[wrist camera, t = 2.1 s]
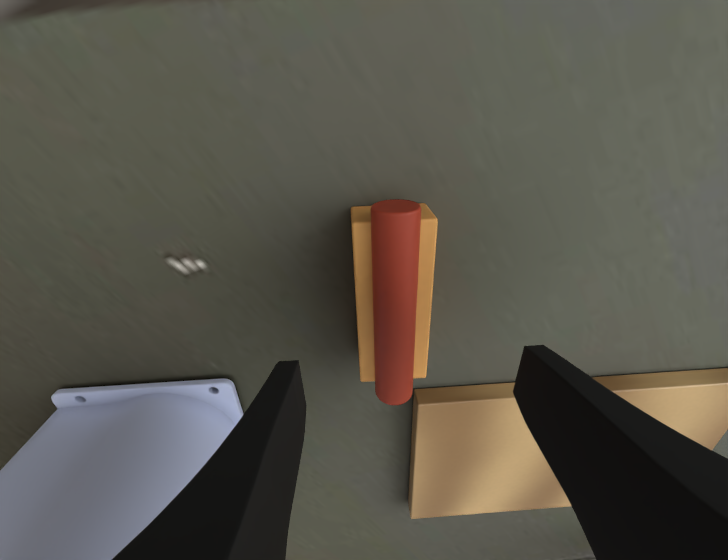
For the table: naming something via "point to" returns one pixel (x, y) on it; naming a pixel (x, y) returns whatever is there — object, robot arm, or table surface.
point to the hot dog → (393, 293)
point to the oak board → (532, 439)
